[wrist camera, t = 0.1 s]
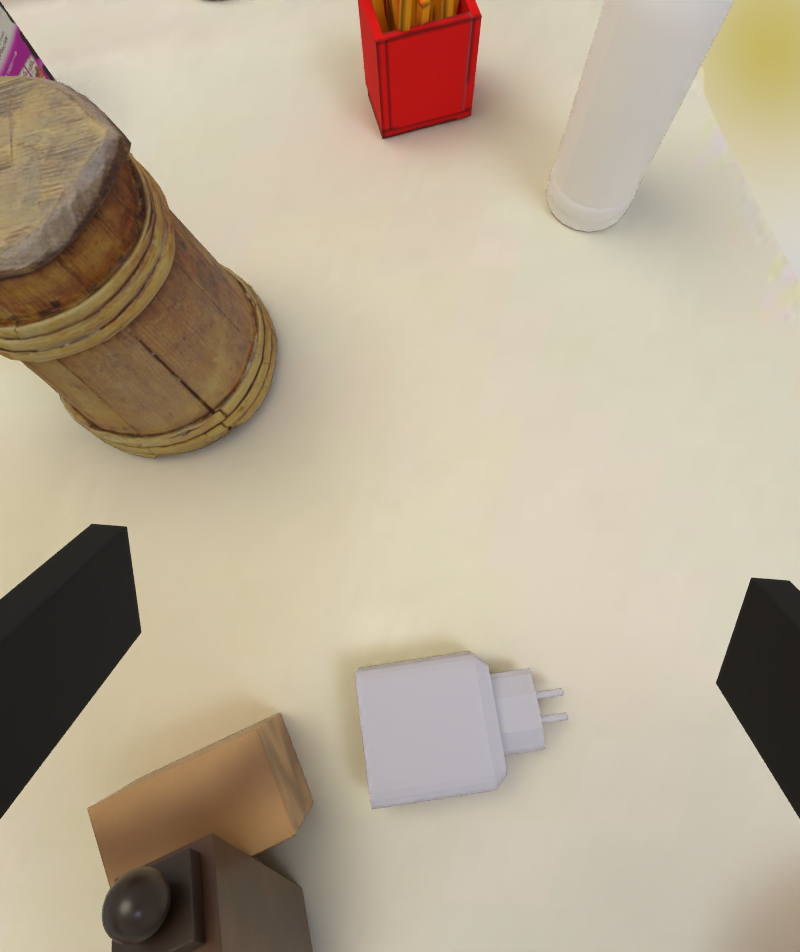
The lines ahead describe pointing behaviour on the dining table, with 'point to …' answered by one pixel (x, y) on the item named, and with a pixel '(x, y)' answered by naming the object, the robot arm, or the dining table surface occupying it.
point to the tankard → (117, 285)
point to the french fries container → (419, 60)
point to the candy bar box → (18, 51)
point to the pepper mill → (205, 904)
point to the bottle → (627, 103)
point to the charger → (444, 726)
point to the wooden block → (207, 800)
